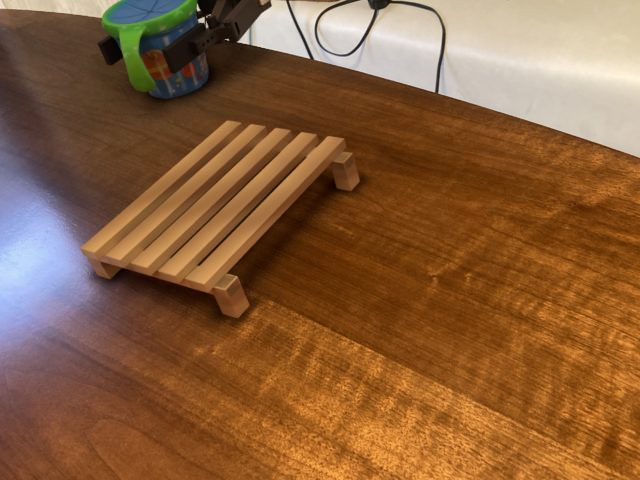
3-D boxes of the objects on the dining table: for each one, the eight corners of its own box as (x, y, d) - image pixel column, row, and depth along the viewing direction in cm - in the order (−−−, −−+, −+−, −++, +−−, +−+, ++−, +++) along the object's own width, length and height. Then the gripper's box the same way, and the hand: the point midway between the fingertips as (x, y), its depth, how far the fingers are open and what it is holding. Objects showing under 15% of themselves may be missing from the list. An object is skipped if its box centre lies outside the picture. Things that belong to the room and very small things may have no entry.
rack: (94, 285, 67) (70, 245, 64) (233, 157, 79) (218, 118, 76) (234, 329, 60) (215, 287, 57) (365, 181, 71) (354, 139, 68)
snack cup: (171, 57, 100) (139, -22, 93) (244, 53, 97) (217, -29, 90) (111, 122, 89) (70, 39, 82) (191, 120, 86) (156, 33, 79)
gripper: (331, 6, 97) (221, 98, 84) (200, -2, 107) (84, 79, 94) (316, -55, 92) (197, 32, 79) (180, -58, 102) (54, 19, 89)
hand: (135, 58), depth 86 cm, fingers closed on snack cup, 9 cm apart
